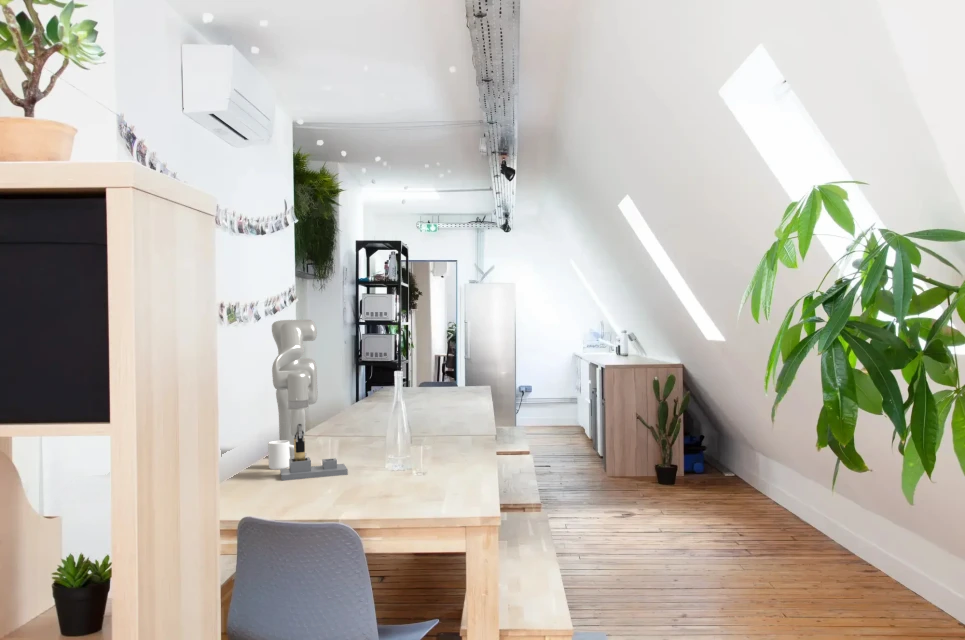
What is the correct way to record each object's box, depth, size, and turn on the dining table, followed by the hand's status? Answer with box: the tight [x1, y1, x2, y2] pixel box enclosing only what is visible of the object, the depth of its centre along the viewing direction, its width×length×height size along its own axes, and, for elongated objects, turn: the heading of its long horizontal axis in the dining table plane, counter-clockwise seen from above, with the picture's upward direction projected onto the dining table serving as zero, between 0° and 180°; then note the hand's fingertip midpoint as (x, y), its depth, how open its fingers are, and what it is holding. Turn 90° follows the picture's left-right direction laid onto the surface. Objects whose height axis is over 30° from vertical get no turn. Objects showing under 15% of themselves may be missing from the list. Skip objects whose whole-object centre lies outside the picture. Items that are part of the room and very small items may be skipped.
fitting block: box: [279, 456, 349, 481], centre depth 276 cm, size 12×24×6 cm, turn 108°
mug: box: [267, 440, 294, 470], centre depth 292 cm, size 12×8×10 cm
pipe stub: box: [294, 437, 306, 462], centre depth 275 cm, size 4×4×12 cm
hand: (299, 449), depth 275 cm, fingers open, 9 cm apart
